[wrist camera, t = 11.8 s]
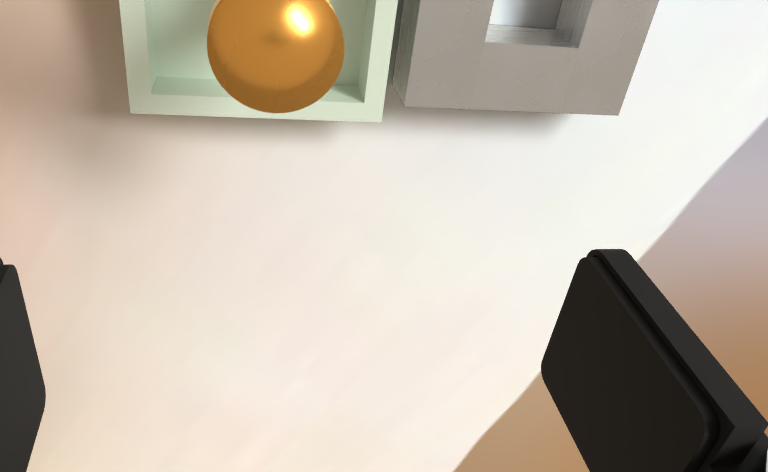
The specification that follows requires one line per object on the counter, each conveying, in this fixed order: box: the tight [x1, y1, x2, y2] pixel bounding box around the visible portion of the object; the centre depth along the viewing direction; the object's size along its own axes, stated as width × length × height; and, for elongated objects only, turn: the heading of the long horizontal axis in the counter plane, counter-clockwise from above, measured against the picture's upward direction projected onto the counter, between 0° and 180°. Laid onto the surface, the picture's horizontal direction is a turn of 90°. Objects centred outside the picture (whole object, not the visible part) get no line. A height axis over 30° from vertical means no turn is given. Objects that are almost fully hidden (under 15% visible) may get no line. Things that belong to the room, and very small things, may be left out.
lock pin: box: [207, 0, 345, 113], centre depth 26 cm, size 5×5×10 cm
